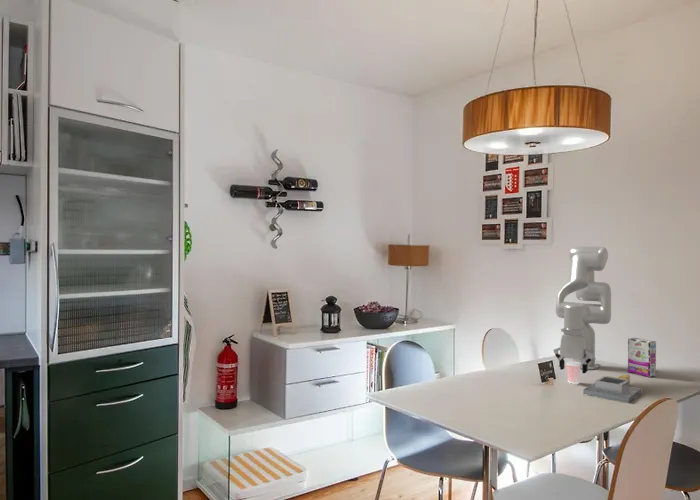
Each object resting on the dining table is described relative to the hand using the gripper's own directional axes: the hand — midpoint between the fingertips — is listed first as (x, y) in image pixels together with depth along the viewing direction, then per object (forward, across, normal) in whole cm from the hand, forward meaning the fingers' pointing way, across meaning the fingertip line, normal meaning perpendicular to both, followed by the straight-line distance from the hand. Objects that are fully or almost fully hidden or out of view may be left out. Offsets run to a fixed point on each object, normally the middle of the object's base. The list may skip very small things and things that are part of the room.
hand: (573, 371), depth 229 cm
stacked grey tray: (+6, +18, -6) cm, 20 cm away
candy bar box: (+5, +18, +36) cm, 41 cm away
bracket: (+5, +18, +6) cm, 20 cm away
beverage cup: (+6, 0, 0) cm, 6 cm away
